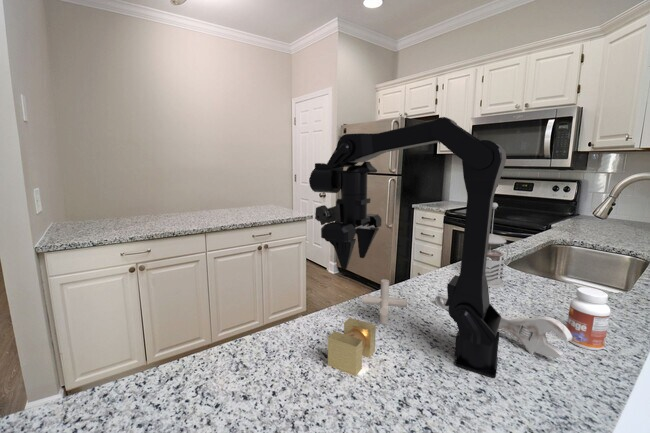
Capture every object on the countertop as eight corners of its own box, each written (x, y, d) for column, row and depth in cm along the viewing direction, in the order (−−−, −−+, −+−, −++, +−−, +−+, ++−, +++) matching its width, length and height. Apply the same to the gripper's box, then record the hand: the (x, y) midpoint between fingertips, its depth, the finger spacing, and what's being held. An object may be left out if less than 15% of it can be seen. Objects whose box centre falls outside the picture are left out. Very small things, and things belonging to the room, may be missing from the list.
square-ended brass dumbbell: (349, 343, 62) (349, 317, 61) (374, 351, 59) (375, 325, 58) (327, 365, 55) (328, 337, 54) (355, 376, 52) (356, 346, 51)
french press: (463, 277, 99) (469, 200, 95) (496, 275, 101) (504, 200, 96) (482, 289, 90) (489, 204, 86) (518, 287, 91) (527, 204, 87)
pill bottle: (557, 334, 66) (564, 285, 64) (586, 334, 66) (594, 285, 64) (581, 351, 60) (589, 298, 58) (613, 351, 60) (622, 298, 58)
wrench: (440, 314, 81) (572, 367, 54) (435, 315, 80) (567, 370, 53) (439, 284, 80) (572, 323, 54) (434, 285, 80) (567, 325, 53)
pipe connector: (407, 335, 65) (409, 291, 63) (360, 330, 67) (361, 287, 65) (404, 313, 75) (406, 274, 73) (363, 309, 77) (364, 271, 75)
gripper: (341, 190, 78) (341, 249, 81) (298, 196, 63) (300, 268, 65) (382, 191, 73) (381, 254, 75) (346, 198, 57) (346, 278, 59)
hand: (353, 263), depth 69 cm, fingers open, 9 cm apart
